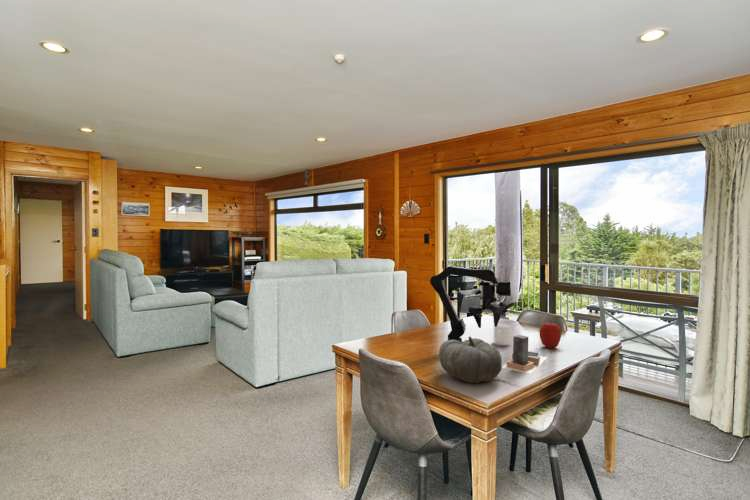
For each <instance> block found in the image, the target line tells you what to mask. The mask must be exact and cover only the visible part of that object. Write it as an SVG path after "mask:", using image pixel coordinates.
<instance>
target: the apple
mask: <svg viewBox="0 0 750 500" xmlns="http://www.w3.org/2000/svg"><path fill="white" fill-rule="evenodd" d="M539 339H540V341H541V344H542V345H543V346H544V347H545V348H547V349H555V348H556V347H558V346H559V344H560V341H561V339H562V330H561V327H560V326H559V325H558V324H557V323H554V322H546V323H543V324H542V325H541V327H540V329H539Z"/></svg>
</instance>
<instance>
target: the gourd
mask: <svg viewBox="0 0 750 500" xmlns="http://www.w3.org/2000/svg"><path fill="white" fill-rule="evenodd" d="M438 354H439V355H438V358H439V363H440V366H441V367H442V369H443V370H444V371H445V372H446V373H447V374H448V375H450V376H451V377H454V378H455V379H456V380H461V381H463V382H466V383H469V384H470V383H475V384H477V383H481V382H484V383H485V382H490V381H492V380H494V379H496V378H497V377H498V376H499V374H500V372H501V370H502V368H501V367H502V363H503V362H502V356H501V353H500V351H499V350H498V349H497V348H496V347H494V346H492V345H490V343H488V342H486V341H484V339H483V340H482V339H480V338H475V337H474V338H472V337H471V336H468V339H465V340H464V341H463V340H462V342H460V341H457V340H448V339H447V340H445V341H444V342H443V343H442V344H441V345H440V347H439V351H438Z"/></svg>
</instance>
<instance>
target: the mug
mask: <svg viewBox="0 0 750 500" xmlns="http://www.w3.org/2000/svg"><path fill="white" fill-rule="evenodd" d="M493 327H494V328H493V343H494V344H495V345H499V346H511V343H512V342H511V341H512V340H511V339H512V338H511V337H512V336H511V334H512V332H511V331H512V330H511V329H512V326H511V325H510V324H506V323H498V324H497V327H495V326H494V325H493Z"/></svg>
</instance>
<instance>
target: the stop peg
mask: <svg viewBox="0 0 750 500" xmlns="http://www.w3.org/2000/svg"><path fill="white" fill-rule="evenodd" d="M512 337H513V340H512V341H513V342H512V344H513V345H512V346H513V347H512V354H513V363H516V364H520V365H526V364H528V351H529V336H527V335H521V334H517V335H514V336H512Z"/></svg>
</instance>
